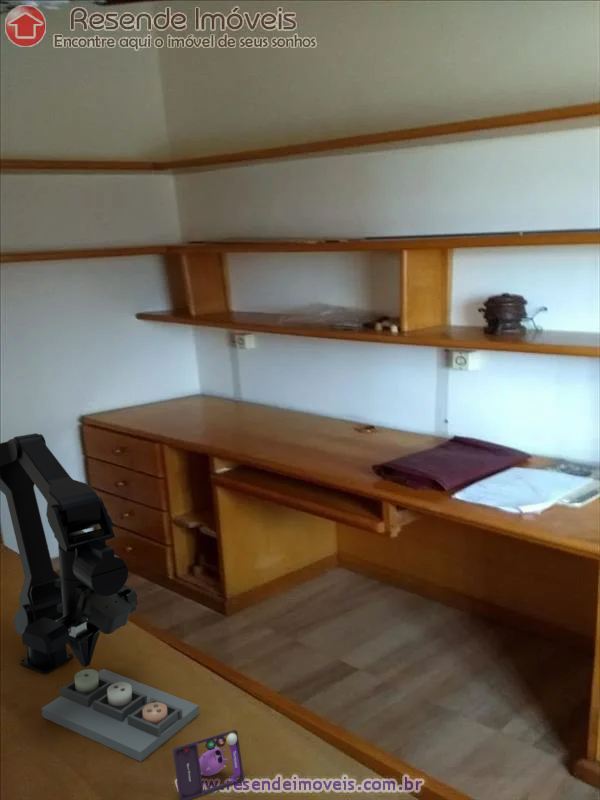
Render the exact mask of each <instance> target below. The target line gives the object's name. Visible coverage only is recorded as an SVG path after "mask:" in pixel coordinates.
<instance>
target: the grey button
mask: <svg viewBox="0 0 600 800" xmlns="http://www.w3.org/2000/svg"><path fill="white" fill-rule="evenodd" d="M107 694H108V703H109V704H110V705H113V706H123V705H126V704H128V703H129V702H130V701H131V700H132V687H131V685H130V684H129V683H127V682H117V683H114V684H112V685H110V686H109V687H108V689H107Z"/></svg>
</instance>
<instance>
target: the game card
mask: <svg viewBox="0 0 600 800" xmlns="http://www.w3.org/2000/svg"><path fill="white" fill-rule="evenodd" d="M239 739H240V738H239V733H238V731H237V730H236V729H232V730H230V731H229V730H228V731H227V732H223V733H219V734H216V735H213V736H210V737H206V738H203V739H199V740H197V741H194V742H190V743H187V744H184V745H180V746H177V747H174V748H173V749H172V753H173V763H174V768H175V776H176V783H177V791H178V799H179V800H191V799H194V798H195V799H196V798H198V797H201V796H204V795H207V794H210V793H213V792H216V791H220V790H222V789H225V788H228V787H231V786H233V785H236V784H240V783H242V782H244V781H245V776H244V775H245V774H244V770H243V769H244V768H243V763H242V753H241V748H240V740H239ZM203 743H205V748H206V749H207V750H206V751H205V752H204V753H202V754H201V756H199V749H198V745H200V744H203ZM225 744H228V747H229V751H230V755H231V760H232V769H233V775H231V777H230V778H231V781H228V782H224V783H222V784H219V785H215V786H213V787H209V788H206V789H204V785H203V777H202V776H204V777H205V776H206V777H210V776H215V775H216V774H218V773H219V772H221V771H222V770H223V769H224V768H227V765H225V763H226V761H230V758H225V755H224V752H226V751H227V749H222V750H221V749H220V748H221V747H225ZM238 776H239V778H237V777H238Z"/></svg>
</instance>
